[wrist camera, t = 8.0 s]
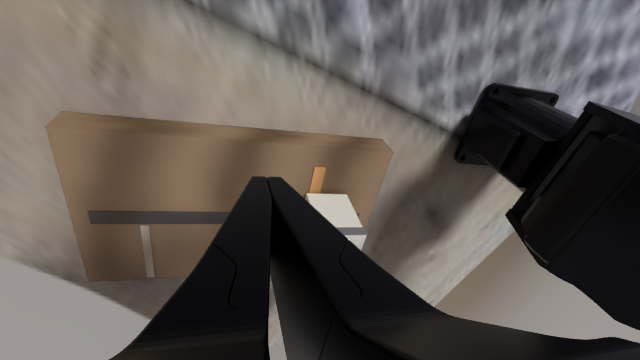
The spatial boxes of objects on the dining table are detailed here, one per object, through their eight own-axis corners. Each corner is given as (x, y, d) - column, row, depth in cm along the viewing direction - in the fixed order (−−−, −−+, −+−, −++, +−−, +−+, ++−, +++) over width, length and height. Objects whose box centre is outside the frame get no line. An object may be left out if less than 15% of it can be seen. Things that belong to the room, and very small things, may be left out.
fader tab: (348, 193, 23) (368, 234, 20) (332, 245, 26) (347, 288, 22) (305, 192, 22) (318, 234, 19) (293, 246, 25) (303, 291, 21)
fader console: (382, 139, 24) (393, 153, 22) (344, 253, 30) (350, 270, 28) (61, 111, 18) (44, 127, 16) (98, 260, 24) (88, 283, 22)
